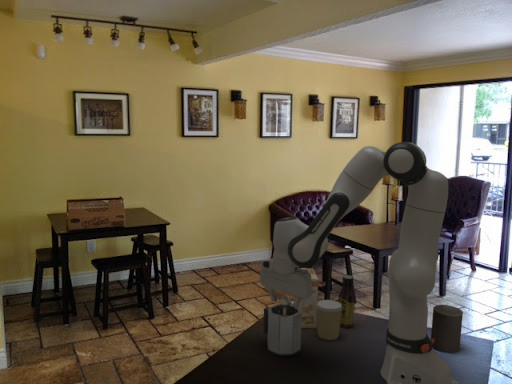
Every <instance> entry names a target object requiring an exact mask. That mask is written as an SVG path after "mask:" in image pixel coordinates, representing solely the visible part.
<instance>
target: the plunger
mask: <svg viewBox="0 0 512 384" xmlns="http://www.w3.org/2000/svg"><path fill="white" fill-rule="evenodd" d="M291 303H292V300H291V298H290V297H289V296H288V295H282V296H280V298H279V300H278V304H280V306H281V307H283V315H286V308H287V307H289V306H290V305H292V304H291Z"/></svg>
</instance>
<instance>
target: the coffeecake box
mask: <svg viewBox="0 0 512 384" xmlns="http://www.w3.org/2000/svg"><path fill="white" fill-rule="evenodd" d="M299 268H300V269H303V270H307V271H308V272H309V273H310V274H311V283H312V295H311V296H310V297H309V298H306V299H303V298H302V300H301V301H300V303H299V308H300V309H301V312H302V318H301V329H317V307H316V305H317V303H318V295H319V291H318V290H319V278H318V276H317V275H316V271H315V269H314V268H313V267H312V268H311V267H307V268H303V267H299ZM296 300H297V299H295V301H296Z"/></svg>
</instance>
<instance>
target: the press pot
mask: <svg viewBox="0 0 512 384" xmlns="http://www.w3.org/2000/svg"><path fill="white" fill-rule="evenodd" d="M301 318H302V312H301V309H300V308H298V309H295V308H293V304H290V306H289V307H287V308H286V315H283V307H281V306H280V304H279V303H277V304H276V303H275V304H274V305H271V306H267V307H265V308H263V326H262V327H263V334H264V335H267V351H268V353H269V354H271V355H274V357H281V358H291V357H295V356H298V354H299V353H300V351H301V347H302V346H301V344H302V328H301Z"/></svg>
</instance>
